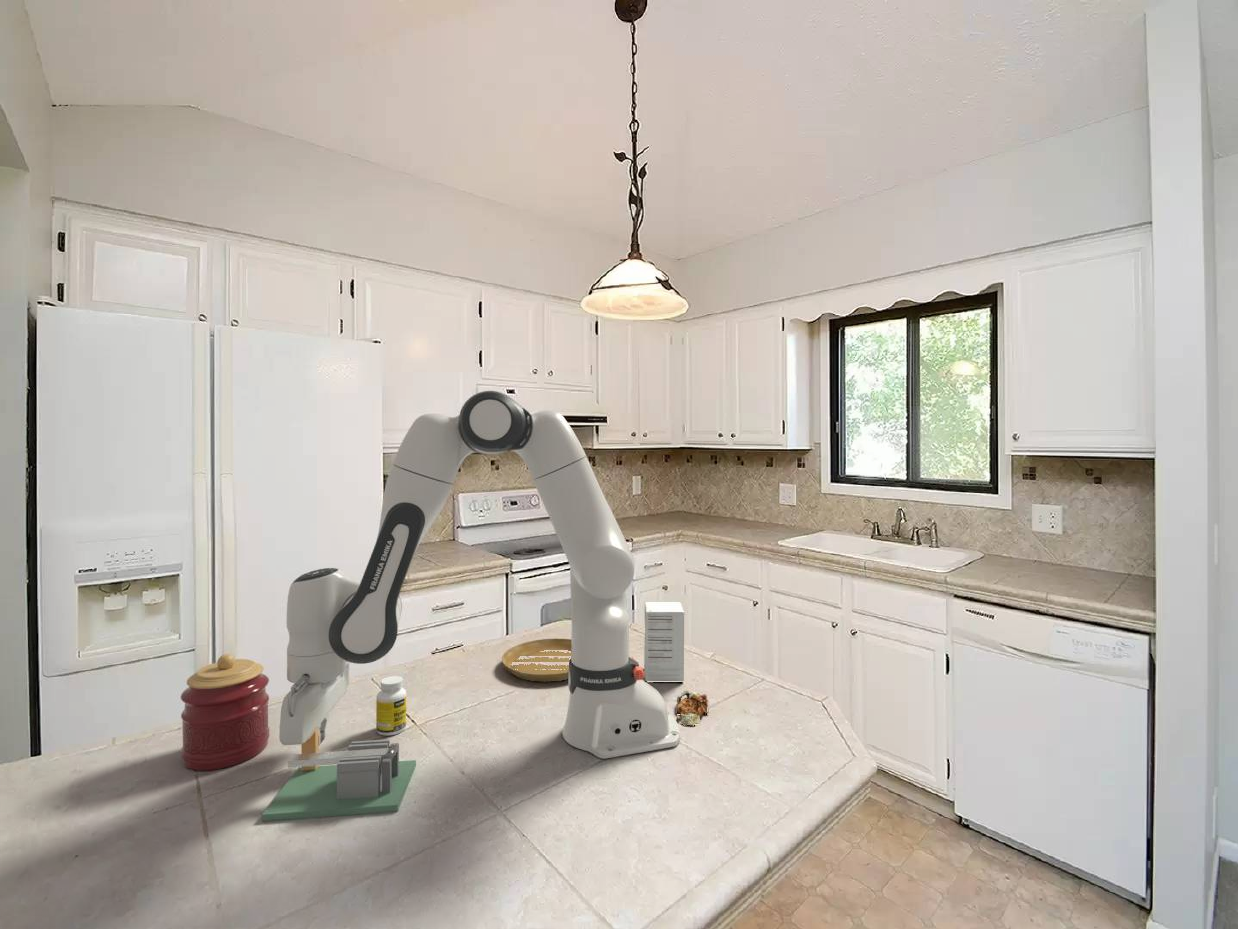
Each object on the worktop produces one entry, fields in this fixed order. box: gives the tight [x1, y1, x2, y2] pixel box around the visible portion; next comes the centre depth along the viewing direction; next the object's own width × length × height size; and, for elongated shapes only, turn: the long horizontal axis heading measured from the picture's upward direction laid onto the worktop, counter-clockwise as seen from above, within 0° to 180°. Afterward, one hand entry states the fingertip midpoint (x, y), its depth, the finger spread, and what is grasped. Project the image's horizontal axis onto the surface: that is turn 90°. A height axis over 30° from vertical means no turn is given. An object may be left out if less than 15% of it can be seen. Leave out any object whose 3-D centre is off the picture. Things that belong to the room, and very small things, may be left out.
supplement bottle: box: [375, 675, 407, 737], centre depth 110 cm, size 5×5×10 cm
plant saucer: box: [501, 637, 571, 683], centre depth 143 cm, size 24×24×3 cm
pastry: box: [675, 690, 709, 727], centre depth 119 cm, size 7×12×4 cm, turn 173°
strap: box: [287, 744, 398, 769], centre depth 90 cm, size 16×3×1 cm, turn 97°
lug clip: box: [300, 727, 320, 771], centre depth 94 cm, size 2×4×7 cm, turn 8°
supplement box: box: [643, 601, 685, 681], centre depth 138 cm, size 10×9×17 cm
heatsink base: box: [261, 738, 417, 822], centre depth 91 cm, size 19×12×6 cm, turn 97°
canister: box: [180, 653, 270, 771], centre depth 102 cm, size 13×13×18 cm
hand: (317, 743), depth 98 cm, fingers closed
